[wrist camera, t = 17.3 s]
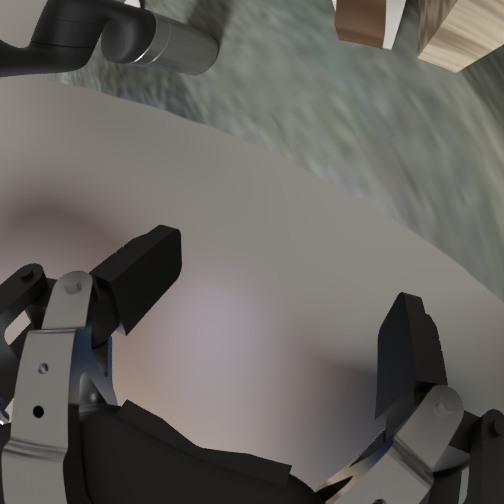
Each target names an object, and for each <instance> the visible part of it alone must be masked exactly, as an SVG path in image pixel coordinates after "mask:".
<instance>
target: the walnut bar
mask: <svg viewBox="0 0 504 504" xmlns="http://www.w3.org/2000/svg"><path fill="white" fill-rule="evenodd" d="M334 25H335V28H336V31H337V35H338V38H339V40H343V41H349V42H354V43H359V44H364V45H368V46H373V47H377V48H381V49H382V47H383V42H384V37H385V26H386V0H337V1H336V13H335V23H334Z"/></svg>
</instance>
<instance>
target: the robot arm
mask: <svg viewBox="0 0 504 504" xmlns="http://www.w3.org/2000/svg"><path fill="white" fill-rule="evenodd" d="M101 33H102V36H101V49H102V53H103V55H104V57H105V58H106V59H107V60H108V61H110V62H113V63H120V64H130V65H138V66H146V67H152V68H158V69H164V70H170V71H175V72H179V73H184V74H189V75H197V74H200V73H203V72H205V71H206V70H207V69H209V68H210V67H211V66H212V64H213V63H214V61H215V60H216V57H217V54H218V45H217V42H216V41H215V39H214V38H213V37H212V36H210V35H208V34H206V33H204V32H202V31H200V30H197V29H195V28H193V27H191V26H188V25H186V24H184V23H181V22H179V21H176V20H174V19H171V18H169V17H166V16H163V15H160V14H157V13H155V12H152V11H149V10H146V9H142V8H139V7H135V6H132V5H128V4H125V3H121V2H118V1H115V0H48V1H47V3H46V5H45V7H44V9H43V11H42V13H41V16H40V18H39V20H38V23H37V25H36V28H35V31H34V33H33V36H32V38H31V41H30V44H29V46H28V47H26V48H17V47H14V46H11V45H9V44H7V43H5V42H3V41H2V40H0V77H7V76H16V75H28V74H42V73H43V74H45V73H62V72H70V71H74V70H78V69H80V68H82V67H84V66H85V65H86V64H87V62H88V61H89V59H90V57H91V55H92V53H93V51H94V48H95V46H96V44H97V42H98V39H99V37H100V35H101ZM181 268H182V255H181V233H180V231H179V230H178V229H175V228H171V227H168V226H164V225H158V226H157V227H155V228H154V229H153V230H151V231H150V232H149V233H147V234H144V235H141V236H139V237H136V238H134V239H132V240H131V241H129V242H128V243H127V244H125V245H124V247H121V248H120V249H119V250H117V252H116V253H114V254H113V255H111V256H110V257H108V258H107V259H106V260H105V261H103V262H102V263H101V264H99V265H98V266H97V267H96V268H94V269H93V270H92V271H91V272H89V273H87V272H83V271H73V272H70V273H67V274H65V275H63V276H62V277H60V278H59V279H58V280H55V279H50V278H46V276H45V273H44V270H43V267H42V266H41V265H39V264H35V263H33V264H28V265H25V266H23V267H22V268H20V269H19V270H17V271H16V272H15V273H14V274H13V275H11V276H10V277H9V278H8V279H7V280H6V281H4V283H2V284H1V285H0V423H1V424H0V504H458V501H459V493H460V485H461V473H462V471H463V470H464V469H466V468H468V467H469V479H468V490H467V496H466V499H465V501H464V503H463V504H504V415H503V414H502V413H501V412H500V411H498V410H495V409H492V410H489V411H487V412H486V413H485V414H484V415H482V416H481V417H478V416H476V415H473V414H471V413H469V412H467V411H465V410H464V405H463V402H462V399H461V397H460V396H459V394H458V393H457V392H456V391H455V390H454V389H453V388H451V387H449V386H448V383H447V377H446V371H445V365H444V359H443V354H442V351H441V345H440V341H439V335H438V331H437V327H436V325H435V323H434V322H433V320H432V318H431V317H430V315H428V314H425V310H424V306H423V302H422V299H421V297H418V296H414V295H411V294H407V293H404V292H401V293H400V294H399V295H398V296H397V298H396V300H395V302H394V303H393V305H392V307H391V309H390V311H389V313H388V314H387V316H386V318H385V320H384V321H383V323H382V325H381V328H380V330H379V334H378V368H377V394H376V409H375V420H376V421H383V422H386V429H385V430H384V431H382V432H381V433H380V434H379V435H378V437H376V439H375V440H374V441H373V442H372V443H371V444H370V445H369V446H368V447H367V448H366V449H364V450H363V451H362V452H361V453H360V454H359V455H358V456H357V457H356V458H355V459H354V460H353V461H352V462H350V463H349V464H348V465H347V466H346V467H345V468H344V469H342V470H341V471H340V472H339V473H337V474H335V475H334V476H332V477H331V478H330V479H328V480H327V481H325V482H324V483H322V484H321V485H320V486H319V487H317V488H316V489H314V490H312V489H311V488H310V487H309V486H308V485H307V484H305V483H304V482H303V481H301V480H300V479H298V478H297V477H295V476H293V475H291V474H289V473H290V470H291V467H292V466H291V465H288V464H283V463H279V462H275V461H272V460H268V459H264V458H260V457H257V456H254V455H251V454H246V453H236V452H228V451H220V450H213V449H206V448H201V447H199V446H196V445H195V444H193V443H192V442H191V441H189V440H188V439H187V438H185V437H184V436H183V435H182V434H180V433H179V432H178V431H177V430H175V429H174V428H173V427H171V426H170V425H169V424H168V423H167V422H166V421H164V420H163V419H162V418H160V417H158V416H156V415H154V414H152V413H151V412H149V411H147V410H145V409H143V408H141V407H139V406H138V405H136V404H134V403H133V402H131V401H129V400H126V401H125V403H124V404H123V405H122V407H121V406H118V404H117V399H116V395H115V392H114V389H113V383H112V336H111V334H112V333H113V332H114V331H115V330H116V331H118V332H120V333H122V334H123V335H125V336H127V335H128V334H129V332H130V331H131V330H132V329H133V328H134V327H135V326H136V324H137V323H138V322H139V321H140V320H141V319H142V318H143V317H144V315H145V314H146V313H147V312H148V311H149V310H150V309H151V307H152V306H153V305H154V304H155V303H156V302H157V301H158V300H159V299H160V297H161V296H162V295H163V294H164V293H165V292H166V291H167V290H168V289H169V287H170V286H171V285H172V284H173V283H174V282H175V281H176V280H177V278H178V277H179V275H180V272H181ZM24 310H25V312H26V314H27V316H28V317H29V319H30V321H31V323H30V324H29V325H28V326H27V327H26V328H25V329H24V330H23V331H22V332H21V334H20V335H19V336H18V337H17V338H16V339H15V340H14V341H13V342H12V343H11V344H10V345H8V344H7V343H6V341H5V338H4V333H5V330H6V328H7V327H8V326H9V325H10V324H11V323H12V322H13V321H14V320H15V319H16V318H17V317H18V316H19V315H20V314H21V313H22V312H23V311H24ZM13 398H14V402H13V411H12V422H11V423H8V422H9V414H8V412H6V410H5V409H6V407H7V406H8V404H9V403H10V402H11V400H12V399H13Z"/></svg>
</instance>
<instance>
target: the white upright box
mask: <svg viewBox="0 0 504 504" xmlns="http://www.w3.org/2000/svg"><path fill="white" fill-rule="evenodd" d="M336 1H337V0H332V2H333V5H334V8H335V12H336ZM405 2H406V0H386V26H385V37H384V42H383V48H386V49H390V50H391V49H392V46H393V43H394V40H395V37H396V33H397V30H398V27H399V23H400V20H401V17H402V13H403V10H404V6H405Z"/></svg>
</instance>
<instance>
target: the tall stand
mask: <svg viewBox="0 0 504 504" xmlns="http://www.w3.org/2000/svg"><path fill="white" fill-rule="evenodd" d="M503 44H504V0H419V43H418V58H419V59H422V60H425V61H428V62H430V63H433V64H436V65H438V66H441V67H443V68H445V69H448V70H450V71H452V72H455V73H457V72H458V71H460V70H462V69H463V68H465V67H466V66H468V65H470V64H471V63H473V62H475V61H476V60H478V59H480V58H481V57H483V56H485V55H486V54H488V53H490V52H491V51H493V50H495V49H497V48H498V47H500V46H502V45H503Z"/></svg>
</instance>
